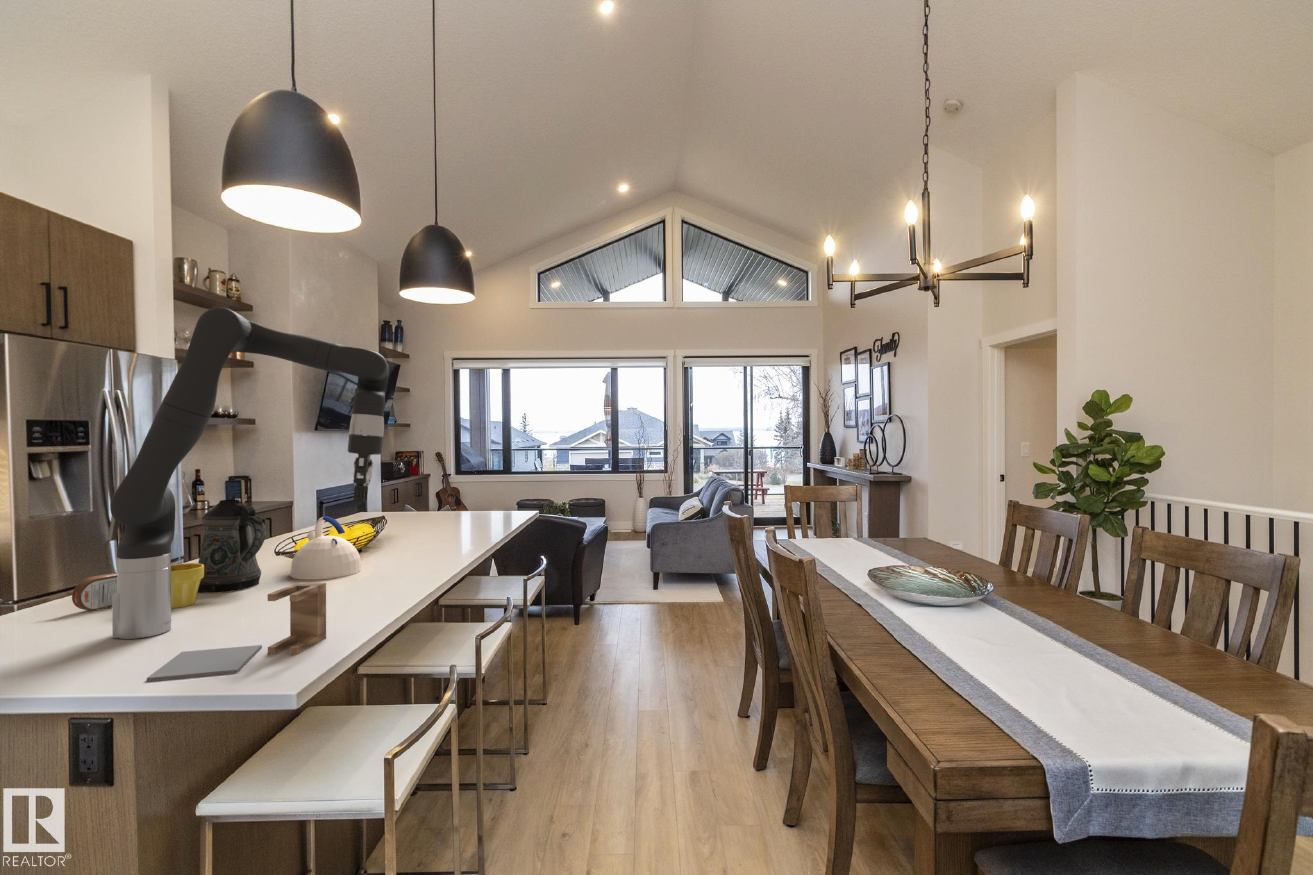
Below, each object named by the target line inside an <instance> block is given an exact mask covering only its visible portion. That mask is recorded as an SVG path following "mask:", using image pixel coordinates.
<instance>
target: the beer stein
mask: <svg viewBox="0 0 1313 875" xmlns="http://www.w3.org/2000/svg"><path fill="white" fill-rule="evenodd" d="M256 514H257V512H256V510H255V508H254V507H253V506H250V505H244V504H243V503H241V500H239V499H221V500H220V501H219V502H218V503H217V504H216V505H215V506H213V508H211V509H209V511H207V512H206V513H204V515H203V516H202V517H201V523H202V524H203V526H204V527H203V528H204V530H203V535H202V542H201V547H200V554H199V558H198V562H197V563H199V564H203V565H204V577H203V578H202V579H201V581H200V584H199V588H198V592H197V593H200V594H218V593H219V592H220V593H227V592H229V593H230V592H235V591H236V590H237V591H240V590H246V589H251V588H252V587H256V586H258V585H259V584H260V579H261V575H262V570H261V568H260V566H259V564H258V560H257V556H256V554H257V553H258V552H259V551H260V549H262V546H263V544H264V542H265V539H266V536H267V528H266V525H265V523H264V521H263V520H262V518H261V517H260V516H258V515H256ZM252 530H253V533H252Z"/></svg>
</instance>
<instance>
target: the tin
mask: <svg viewBox="0 0 1313 875" xmlns="http://www.w3.org/2000/svg"><path fill="white" fill-rule="evenodd" d="M116 592H117V572H111V573H107V574H100V575H94V576H90V577H87V578H84V579H83V580H81V581H80V582H79V583H78V584H77V585H76V586H75V587H74V589H73V591H72V594H71V601H72V603H73V605H74V606H75V607H76V608H78V609H80V610H85V611H89V612H90V611H92V612H93V611H100V610H103V609H104V610H105V609H109V608H110V609H111V608H112V595H113V594H114V593H116Z"/></svg>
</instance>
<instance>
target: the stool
mask: <svg viewBox="0 0 1313 875" xmlns="http://www.w3.org/2000/svg"><path fill="white" fill-rule="evenodd" d="M288 596H289V603H290V604H289V608H290V610H289V613H290V614H289V617H290V618H289V619H290V620H289V622H290V624H289V626H290V628H289V632H290V633H289V634H290V635H289V636H287V637H285V638H283V639H281V640H280V641H277V642H275V643H273V644H271V645H269V646H267V655H276V654H278V653H279V651H280V652H281V651H284V650H286V649H287V648H289V655H291V656H293V655H295V656H296V655H299V654H300V653H303V652H304V651H307V650H308V649H309V648H311V647H313V646H315V645H317V644H319V643H320V642H322V641H325V640H326V639H327V582H309V581H307V582H301V581H299V582H296V583H294V584H291V585H288V586H285V587H283V588H281V589H277V590H275V591H272V592H270V593H267V602H276V601H279V600H281V599H283V598H285V597H288Z"/></svg>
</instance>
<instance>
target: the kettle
mask: <svg viewBox="0 0 1313 875" xmlns="http://www.w3.org/2000/svg"><path fill="white" fill-rule="evenodd" d="M325 522H327V523H329V524H330V525H331V526H333V528H334V529H335V530H336V532H337V534H338V535H342V534H345V533H346V531H345V529H344V527H343V526H342V525H341V524H340V522H338V520H336V519H334V517H331V516H327V515H325V516H322V517H320V518H319V519H317V521H316V523H315V527H314V530H311V531H309V532H308V533H307V535H306V538H307V540H308V541H307V542H306V543H305V544H303V545H302V546H301V547H299V549H298V550H297V552H296V553H294V556H293V558H292V560H291V565H290V566H291V567H290V574H289V576H290V578H292V579H295V580H303V581H304V580H305V581H306V580H307V581H309V580H327V579H328V580H329V579H336V578H341V577H347V576H351V575H355V574H357V573H360V572H361V571H362V562H361V561H362V560H361V556H360V554H359V552H358V549H357V548H356V547H355V546H354V545H353V544H352V542H350V541H349V540H347V539H345V538H342V537H339V536H336V535H324V533H323V532H324V531H323V529H324V524H325Z"/></svg>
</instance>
